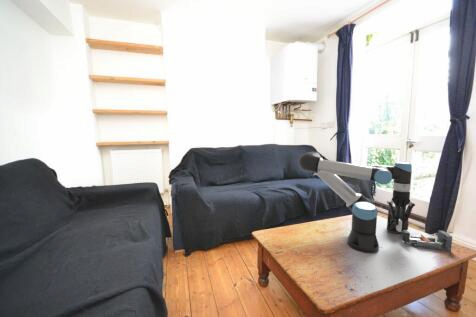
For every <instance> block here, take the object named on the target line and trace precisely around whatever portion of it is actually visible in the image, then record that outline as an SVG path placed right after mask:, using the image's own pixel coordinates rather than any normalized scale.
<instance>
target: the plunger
mask: <svg viewBox="0 0 476 317" xmlns="http://www.w3.org/2000/svg"><path fill="white" fill-rule="evenodd" d="M401 240H402V241H403V242H404V243H407V244H411V243H416V240H417V241H422V240H421V239H419V238H411V233H410V231H408V230H403V232H402V234H401Z"/></svg>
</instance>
